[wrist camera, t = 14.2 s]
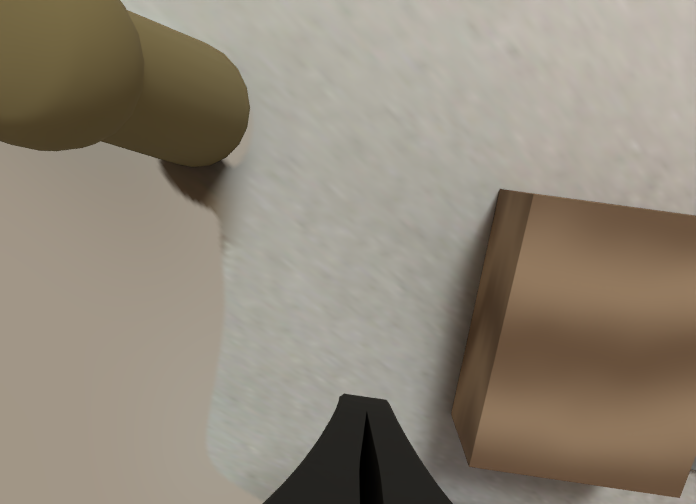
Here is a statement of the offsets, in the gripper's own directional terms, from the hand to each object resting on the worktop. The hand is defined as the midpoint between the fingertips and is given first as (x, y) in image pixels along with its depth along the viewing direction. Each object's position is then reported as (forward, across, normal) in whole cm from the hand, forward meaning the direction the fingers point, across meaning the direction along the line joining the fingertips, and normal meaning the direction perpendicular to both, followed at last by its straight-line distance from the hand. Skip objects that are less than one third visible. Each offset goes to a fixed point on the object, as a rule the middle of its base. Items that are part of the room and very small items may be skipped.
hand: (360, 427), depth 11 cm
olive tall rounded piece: (+11, +10, -9) cm, 17 cm away
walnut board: (+10, -11, 0) cm, 15 cm away
